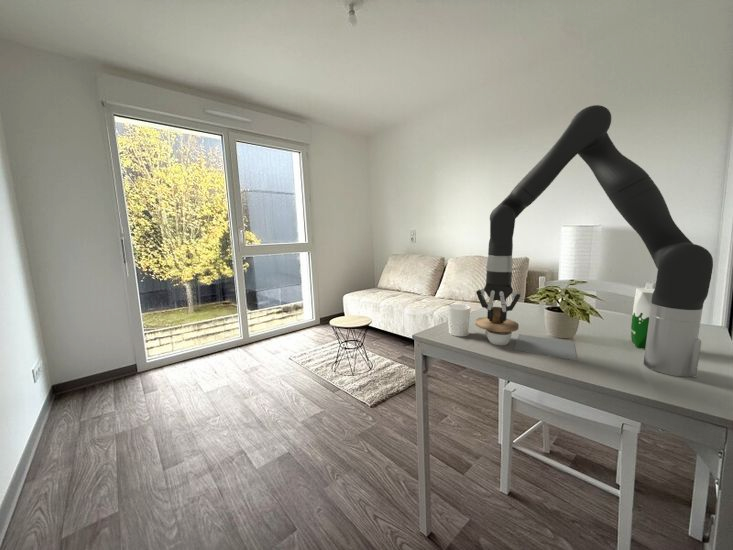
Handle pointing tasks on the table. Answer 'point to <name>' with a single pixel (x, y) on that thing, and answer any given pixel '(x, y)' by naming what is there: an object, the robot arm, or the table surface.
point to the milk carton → (641, 316)
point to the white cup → (458, 319)
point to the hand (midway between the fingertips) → (496, 321)
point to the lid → (497, 322)
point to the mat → (546, 346)
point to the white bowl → (498, 337)
